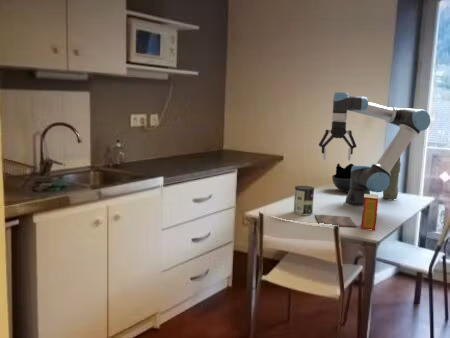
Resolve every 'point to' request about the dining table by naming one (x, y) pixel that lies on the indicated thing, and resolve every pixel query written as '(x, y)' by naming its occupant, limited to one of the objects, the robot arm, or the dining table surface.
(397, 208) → the dining table surface
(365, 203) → the baking soda box
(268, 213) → the dining table surface
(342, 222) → the walnut board
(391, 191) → the olive green rough column
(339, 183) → the coal bowl
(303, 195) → the coffee can
